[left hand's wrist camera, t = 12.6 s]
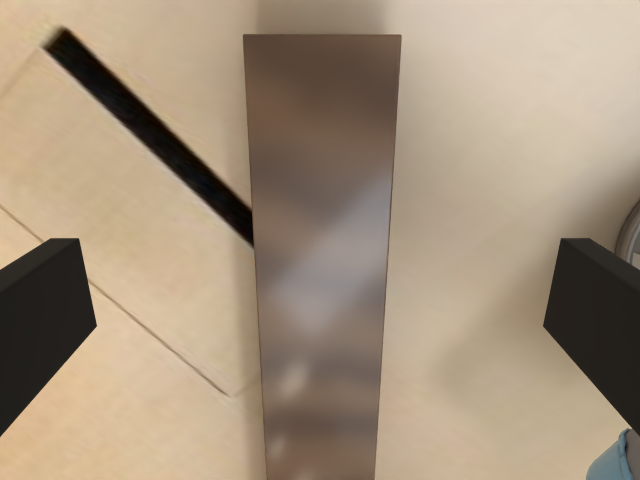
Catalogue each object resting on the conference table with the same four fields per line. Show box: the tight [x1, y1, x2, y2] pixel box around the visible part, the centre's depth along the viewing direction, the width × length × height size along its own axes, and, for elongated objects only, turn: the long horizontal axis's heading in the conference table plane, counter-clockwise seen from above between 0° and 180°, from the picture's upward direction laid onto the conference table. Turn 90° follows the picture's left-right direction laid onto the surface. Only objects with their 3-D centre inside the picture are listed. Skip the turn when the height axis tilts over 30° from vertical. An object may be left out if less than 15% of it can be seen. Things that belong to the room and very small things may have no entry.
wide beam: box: [243, 34, 402, 480], centre depth 44 cm, size 76×10×7 cm, turn 0°
